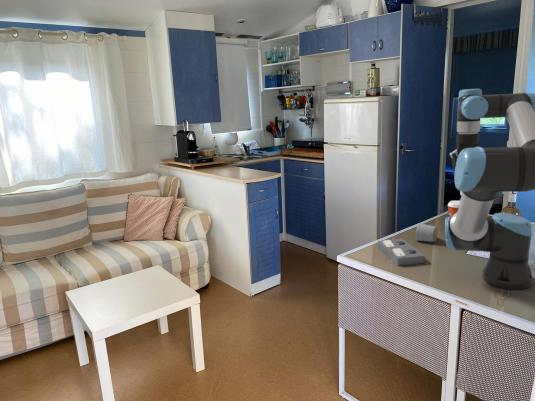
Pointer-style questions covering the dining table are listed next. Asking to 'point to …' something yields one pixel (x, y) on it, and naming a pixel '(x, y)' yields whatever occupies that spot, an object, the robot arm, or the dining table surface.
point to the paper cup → (453, 207)
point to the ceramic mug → (426, 233)
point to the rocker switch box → (410, 252)
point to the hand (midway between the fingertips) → (464, 195)
